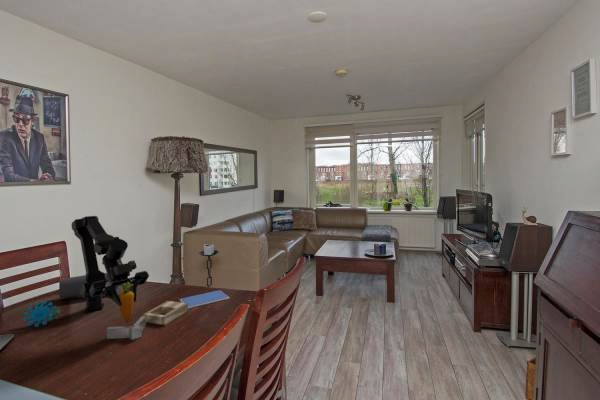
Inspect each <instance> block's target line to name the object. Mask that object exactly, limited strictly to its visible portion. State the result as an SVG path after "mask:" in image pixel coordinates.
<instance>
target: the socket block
mask: <svg viewBox="0 0 600 400" xmlns="http://www.w3.org/2000/svg"><path fill="white" fill-rule="evenodd" d="M188 311H189V309H188V303H181V301H173V300H172V301H171V300H166V301H165V302H162V303H161V304H159V305H157V306H156V307H154V308H152V309H150V310H149V311H146V312H145V313H143V314H142V316H146V324H155V325H162V326H166V325H168V324H169V323H171V322H172V321H174V320H175V319H177V318H179V317H181V315H183V314H185V313H186V312H188Z"/></svg>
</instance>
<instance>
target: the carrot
mask: <svg viewBox="0 0 600 400" xmlns="http://www.w3.org/2000/svg"><path fill="white" fill-rule="evenodd" d="M120 286H121V287H122V289H123V291H122V292H120V293H119V294H118V296H119V298H120V301H121V306H119V305H118V308H119V311H120V315H121V318H122V319H123V321H124V322H125V323H126V324H128V323H129V322H130V320H131V318H132V317H133V312H134V308H135V302H134V293H133V292H131V291H129V289H130V288H131V287H132V286H133V284H131V285H130V286H129V282H127V284H126V283H124V284H122V285H120Z"/></svg>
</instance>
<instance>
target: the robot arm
mask: <svg viewBox="0 0 600 400" xmlns="http://www.w3.org/2000/svg"><path fill="white" fill-rule="evenodd" d="M71 229H72V231H73V233H74V234H73V235H75V237H76V238H77V239H79V241H80V246H81V251H82V257H83V262H84V268H85V277H84V279H83V284H82V287H81V289H80V295H81V296H82V297H83V299H85V308H84V313H88V312H95V311H101V310H103V309H104V305H105V303H104V302H103V297H107V299H110V300H112V302H114V303H115V304H117V306H118V307H119V306H121V301H120V298H119V294H118V292H117V289H116V288H115V287H116V286H118V287H120V286H121V285H122V284H124V283H126V285H127V282H129V285H128V287H129V286H130V285H131V284H133V286H132V287H131V288H130V289H129V291H131V292H133V293H134V303H135V302H137V290H138V289H137V288H138V286H141V285H145V284H146V283H147V280H148V278H149V277H150V274H149V272H148V271H147V270H142V271H138V272H136V273H135V274H134V276H132V277H130V276H131V273H132V272H133V270H136V269H137V263H136V261H135V259H134V260H130V261H128V262H127V263H123V262H122V259H123V258H124V255H125V253H126V251H127V249H128V247H129V245H128V242H127V241H126V240H124V239H122V238H120V237H119V236H115V237H114V236H113V235H111V234H108V233H107V232H106V230H105V229H104V227H103V225H102V224H101V223H100V220H99V217H98V216H96V215H90V216H89V215H88V216H82V218H77V219H74V220H73V221H72V222H71ZM102 255H103V257H102V260H101V262H102V265H103V266H104V269H105V271H106V272H104V271H101V270H100V268H99V264H98V257H97V256H102ZM104 273H107V275H106V276H107V277H109V280H110V282H107V280H106V279H105V274H104ZM102 293H103V294H102Z"/></svg>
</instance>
